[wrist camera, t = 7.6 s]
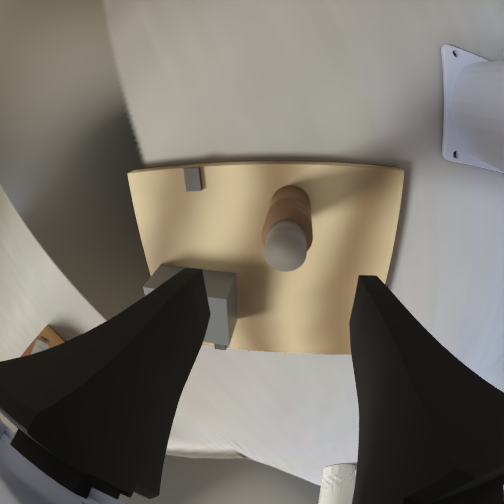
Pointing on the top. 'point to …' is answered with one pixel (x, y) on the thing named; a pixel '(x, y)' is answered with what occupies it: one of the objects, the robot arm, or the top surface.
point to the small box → (43, 341)
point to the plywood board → (252, 249)
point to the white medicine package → (337, 484)
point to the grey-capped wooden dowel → (287, 229)
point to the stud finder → (209, 300)
